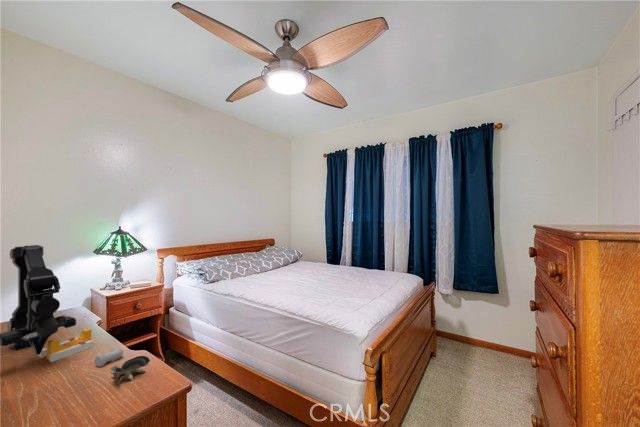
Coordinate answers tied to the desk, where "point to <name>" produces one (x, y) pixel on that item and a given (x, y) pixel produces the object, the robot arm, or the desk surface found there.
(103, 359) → the smooth white sculpture
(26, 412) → the desk surface
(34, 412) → the desk surface
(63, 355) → the guide channel
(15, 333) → the robot arm
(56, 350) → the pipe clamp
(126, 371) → the dark grey animal figurine
